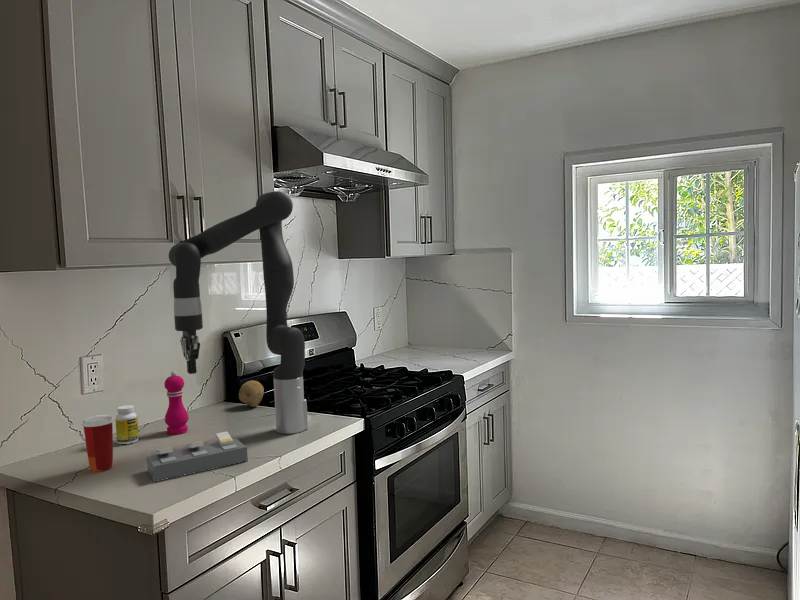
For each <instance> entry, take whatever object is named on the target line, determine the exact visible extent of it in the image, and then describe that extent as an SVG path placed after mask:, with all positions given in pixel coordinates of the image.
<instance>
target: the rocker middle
mask: <svg viewBox="0 0 800 600" xmlns="http://www.w3.org/2000/svg"><path fill="white" fill-rule="evenodd" d="M199 446H204V440H199V441H194V442H193V441H192V442H189V443H187V442H186V448H194V447H199Z"/></svg>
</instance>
